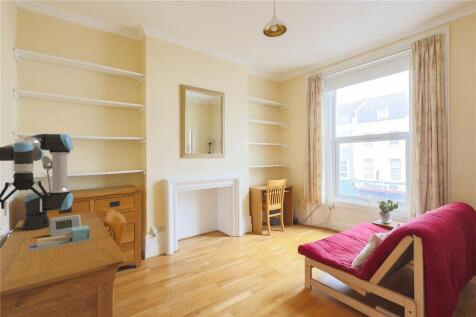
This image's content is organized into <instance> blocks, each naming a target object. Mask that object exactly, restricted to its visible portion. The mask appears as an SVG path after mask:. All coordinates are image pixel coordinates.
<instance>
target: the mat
mask: <svg viewBox="0 0 476 317" xmlns="http://www.w3.org/2000/svg"><path fill="white" fill-rule="evenodd" d="M90 240H92V239H91V237H90V236H89V239H85V240H80V241H74V242H72V238H71V237H70V241H68V242H62V243H57V244H52V245H46V246H41V247H37V243H32V244H29V245H28V249H27V252H33V251H40V250H43V249H49V248H54V247H55V248H56V247H60V246H65V245H71V244H76V243H77V244H78V243H82V242H88V241H90Z"/></svg>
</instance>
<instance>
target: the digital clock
mask: <svg viewBox="0 0 476 317" xmlns="http://www.w3.org/2000/svg"><path fill="white" fill-rule="evenodd" d="M78 226H82V222H81V215H80V214H76V215H75V214H74V215H67V216H60V217H54V218H49V226H48V227H49V236H50V237H55V236H61V235H67V234H71V228H72V227H78Z"/></svg>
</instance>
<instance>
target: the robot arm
mask: <svg viewBox="0 0 476 317" xmlns="http://www.w3.org/2000/svg"><path fill="white" fill-rule="evenodd" d="M73 148H74V143H73V139H72V138H71V136H70V135H69V134H63V133H38V134H34V135H30V136H28V137H25V138H23V140H20V141H17V142H14V143H11V144H7V145H5V146H0V162H12V161H13V172H14V173H13V182H8V181H7V182H5V183H4V187H3V189H2V190H1V192H0V208H1V210H4V212H3V216H4V217H5V216H7V215H8V202H7V200H8V199H9V198H10V197H11V196H12V195H13V194H15V192H17V191H28V190H31V191H32V192H33V193H32V194H27V195H26V196H25V198H24V218H23V222H22V223H21V224H22V225H21V230H24V231H25V230H26V231H29V230H31V231H32V230H38V229H42V228H47V227H49V220H50V218H49V215H48V211H49V212H51V211H64V210H69V209H70V208H71V207H72V205H73V202H74V194H73V193H72V192H71V190H70V189H69V188H68V155H70V153H71V151H73ZM44 151H48V152H49V155H51V159H52V160H51V161H52V162H51V164H52V165H51V166H52V168H51V169H52V170H51V171H52V172H51V173H52V174H51V177H52V185H51V186H52V188H51V190H50V191H49V193H48V192H47V191H46V189H45V188H44V186H43V185H42V180H38V181H37V180H36V181H35V180H34V162H37V161H40V160H42V159H44V157H45V152H44ZM34 185H36V186H38V188H40V191H41V192H39V190H37V189H36V188H35V187H34ZM12 186H13V187H14V189H12V190H11V191H9V193H8V194H7V195H6V196H5V197H3V196H4V195H5V193H6V192H7V191H8V188H11V187H12Z"/></svg>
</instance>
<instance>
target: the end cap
mask: <svg viewBox="0 0 476 317" xmlns="http://www.w3.org/2000/svg"><path fill="white" fill-rule="evenodd" d="M89 237H90V227H89V226H88V224H86V225H81V226H78V227H72V228H71V233H70V238H72V242H74V241H80V240H85V239H89Z"/></svg>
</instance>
